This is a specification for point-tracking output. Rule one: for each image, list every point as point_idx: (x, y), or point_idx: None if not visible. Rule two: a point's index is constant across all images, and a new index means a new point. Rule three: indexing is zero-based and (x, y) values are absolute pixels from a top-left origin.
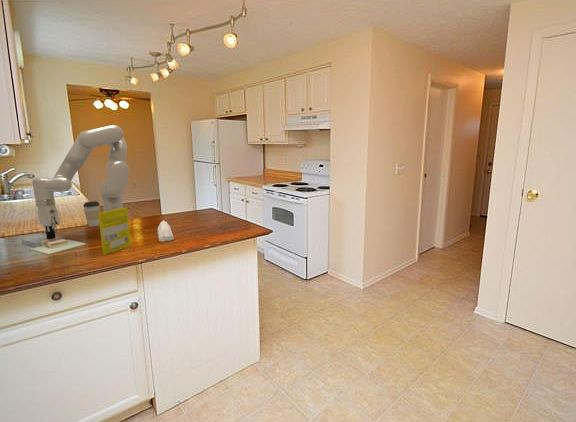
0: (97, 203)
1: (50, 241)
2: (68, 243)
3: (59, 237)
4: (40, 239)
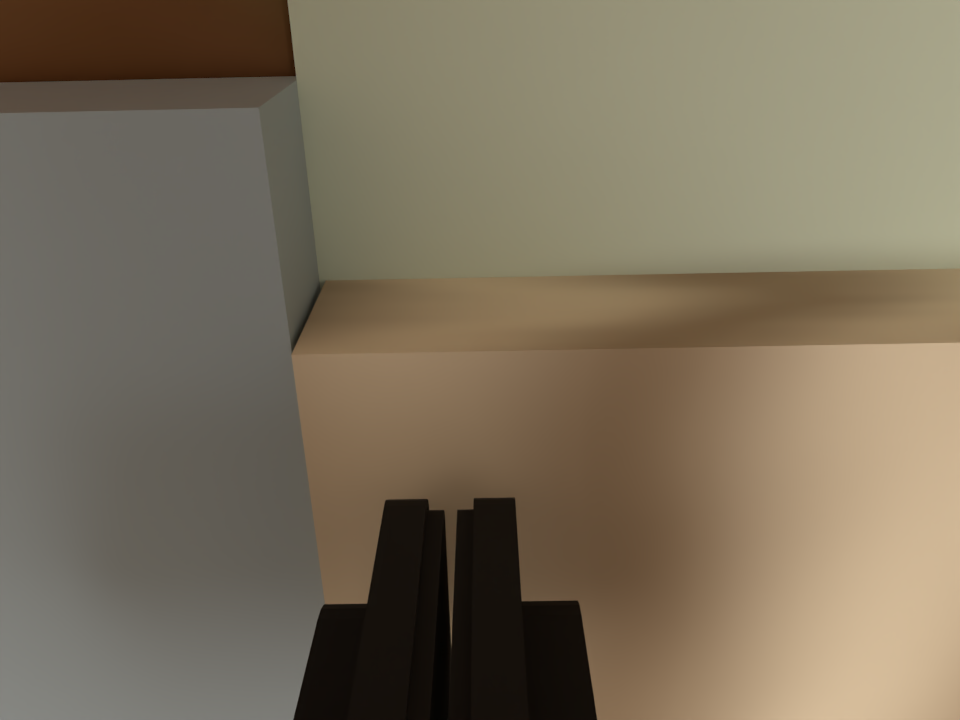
0: None
1: (666, 659)
2: (859, 175)
3: (275, 231)
4: (22, 643)
